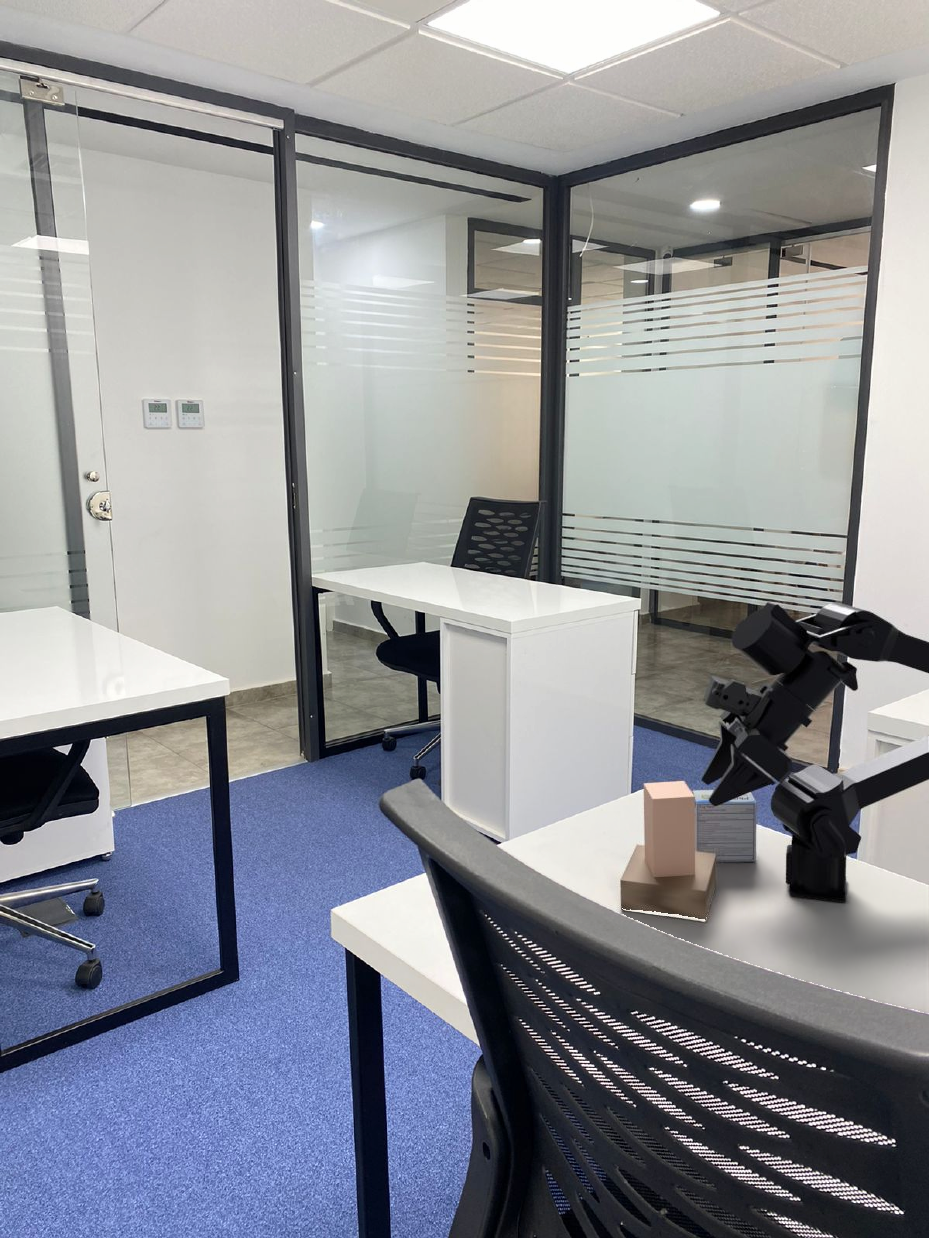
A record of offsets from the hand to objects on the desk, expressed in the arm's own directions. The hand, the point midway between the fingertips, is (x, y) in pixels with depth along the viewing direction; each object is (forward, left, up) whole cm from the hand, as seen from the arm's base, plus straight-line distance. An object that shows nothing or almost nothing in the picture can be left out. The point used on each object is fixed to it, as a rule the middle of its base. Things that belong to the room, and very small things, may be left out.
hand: (707, 792), depth 112 cm
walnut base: (+4, +2, -13) cm, 14 cm away
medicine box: (-1, -11, -13) cm, 17 cm away
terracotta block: (+4, +2, -9) cm, 10 cm away
